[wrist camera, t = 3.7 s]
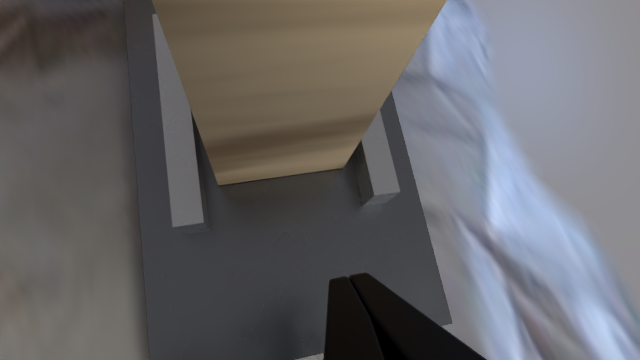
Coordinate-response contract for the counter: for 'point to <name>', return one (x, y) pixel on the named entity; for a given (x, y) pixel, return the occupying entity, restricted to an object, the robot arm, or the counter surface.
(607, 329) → the counter surface
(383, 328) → the robot arm
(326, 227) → the chute
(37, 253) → the counter surface
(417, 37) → the oak block
